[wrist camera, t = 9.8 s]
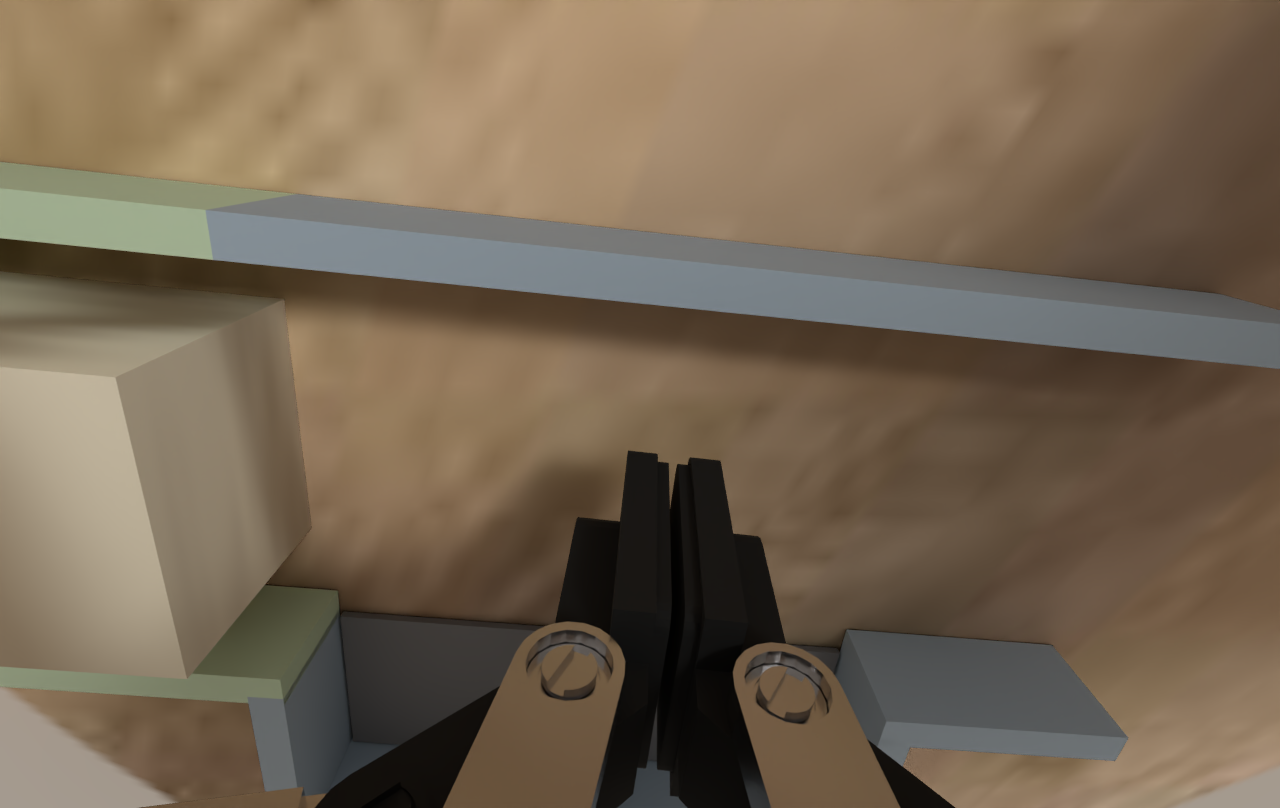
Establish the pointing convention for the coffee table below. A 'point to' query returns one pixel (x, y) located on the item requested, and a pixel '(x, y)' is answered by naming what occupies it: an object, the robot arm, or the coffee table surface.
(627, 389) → the coffee table surface
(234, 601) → the birch block
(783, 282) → the tray
